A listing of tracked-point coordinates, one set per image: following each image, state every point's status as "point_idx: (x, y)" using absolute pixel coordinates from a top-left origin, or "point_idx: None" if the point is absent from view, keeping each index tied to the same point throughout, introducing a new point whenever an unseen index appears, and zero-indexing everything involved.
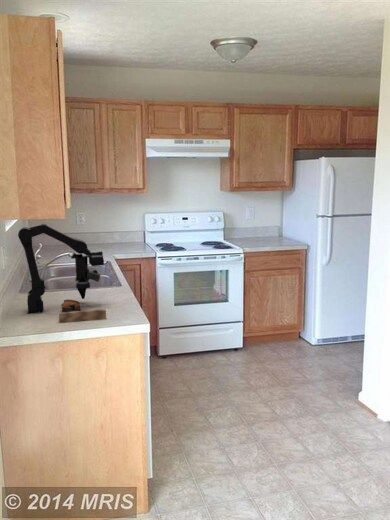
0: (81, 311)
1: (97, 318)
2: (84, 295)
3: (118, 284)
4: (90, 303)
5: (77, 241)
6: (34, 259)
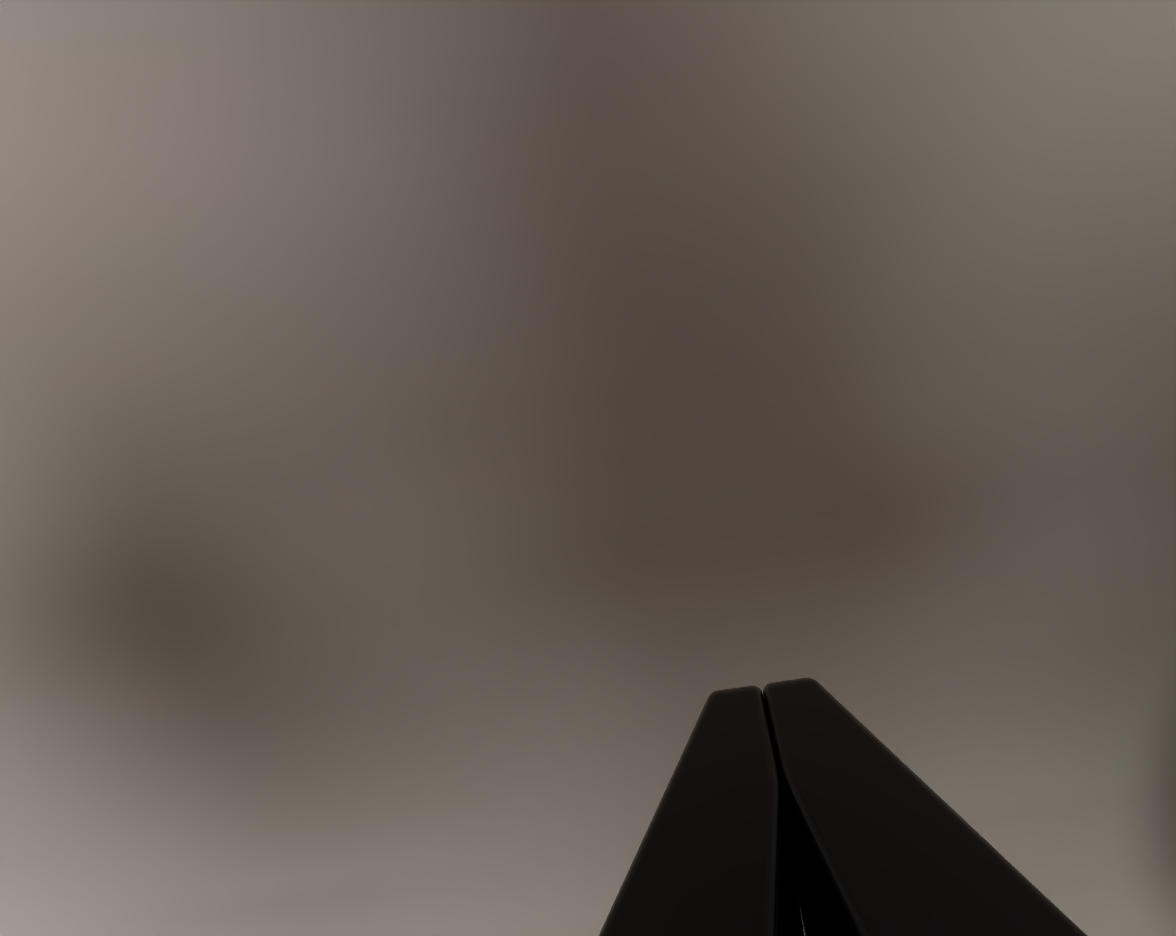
0: None
1: None
2: (938, 819)
3: None
4: (131, 300)
5: None
6: None
